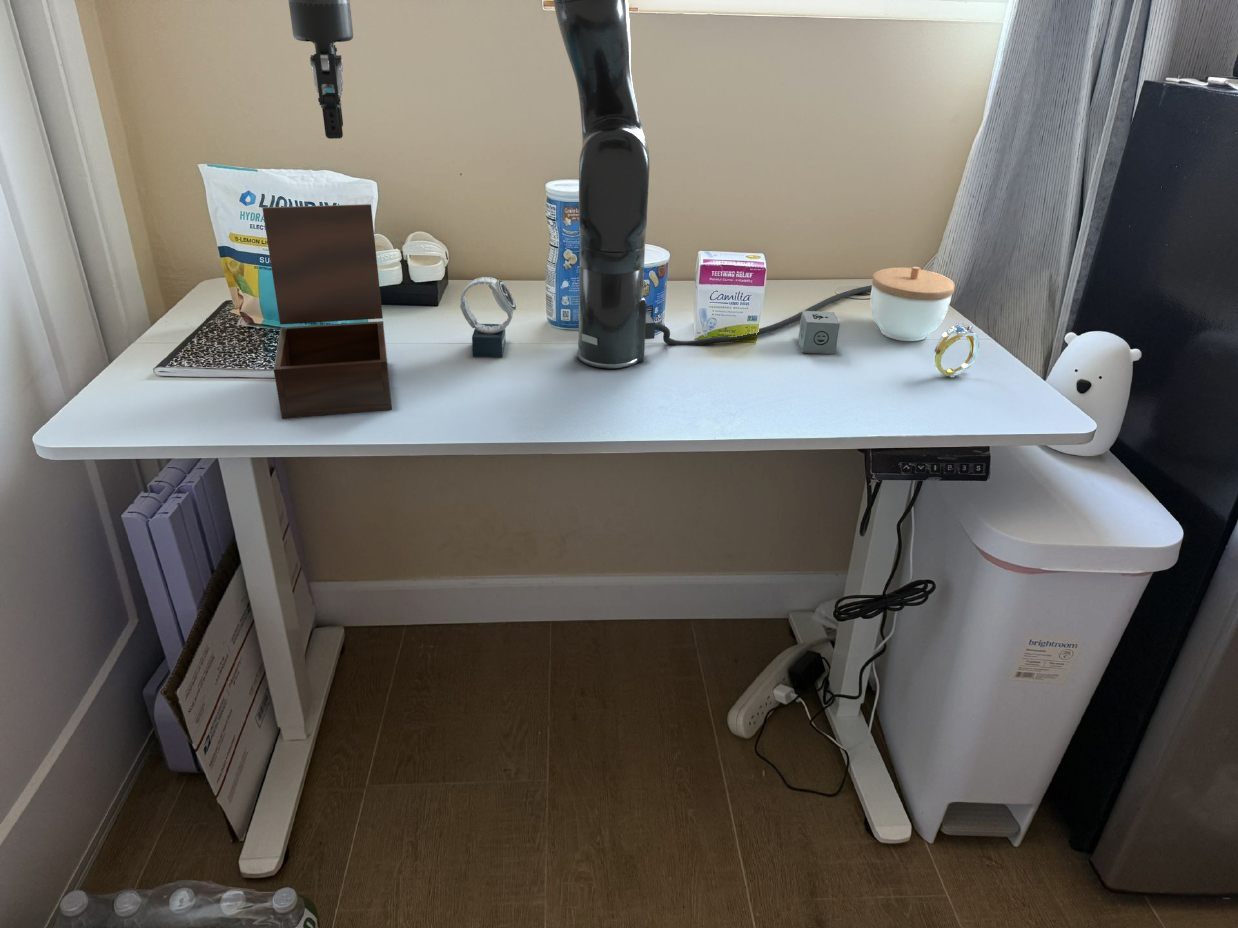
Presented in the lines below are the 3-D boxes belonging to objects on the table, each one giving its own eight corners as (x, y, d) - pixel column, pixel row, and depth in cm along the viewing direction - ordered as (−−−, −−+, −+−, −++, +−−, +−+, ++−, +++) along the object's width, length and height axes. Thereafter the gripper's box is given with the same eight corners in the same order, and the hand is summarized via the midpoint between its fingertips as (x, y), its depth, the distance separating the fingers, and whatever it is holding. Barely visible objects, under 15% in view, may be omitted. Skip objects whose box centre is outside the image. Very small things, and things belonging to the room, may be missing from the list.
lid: (371, 205, 119) (370, 199, 124) (262, 208, 115) (266, 202, 120) (382, 318, 125) (381, 308, 130) (280, 324, 122) (283, 314, 127)
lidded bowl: (863, 342, 143) (875, 275, 137) (863, 316, 153) (874, 252, 148) (945, 352, 140) (961, 284, 135) (940, 324, 151) (954, 260, 146)
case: (392, 409, 117) (386, 361, 113) (281, 418, 113) (273, 369, 110) (387, 365, 129) (383, 320, 126) (288, 372, 126) (280, 327, 122)
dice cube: (797, 340, 142) (802, 310, 140) (829, 342, 142) (834, 312, 140) (802, 352, 138) (806, 322, 136) (834, 354, 138) (839, 323, 136)
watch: (515, 357, 133) (513, 286, 127) (461, 356, 133) (456, 284, 127) (518, 343, 138) (516, 274, 132) (466, 342, 137) (462, 272, 132)
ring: (965, 370, 134) (977, 319, 130) (977, 379, 132) (990, 327, 128) (923, 373, 133) (935, 322, 129) (935, 382, 130) (947, 330, 126)
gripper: (349, 3, 109) (364, 142, 117) (349, -3, 121) (362, 123, 129) (284, 2, 108) (304, 142, 116) (291, -4, 119) (308, 124, 128)
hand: (335, 132), depth 122 cm, fingers open, 8 cm apart
